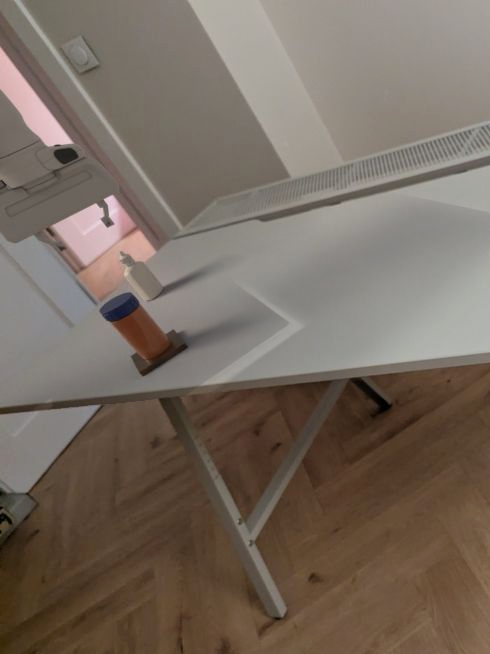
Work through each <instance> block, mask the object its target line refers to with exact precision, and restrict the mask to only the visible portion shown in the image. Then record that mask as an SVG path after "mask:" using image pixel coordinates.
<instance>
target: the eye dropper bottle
mask: <svg viewBox="0 0 490 654" xmlns="http://www.w3.org/2000/svg"><path fill="white" fill-rule="evenodd" d="M118 255H119V259H118V261H119V262H121V264H122V266H124V268H125V269H124V272H123V276H124V277H125V279H126V280H127V282H128V283H129V284H130V286H132V288H133V289H134V290H135V291H136V293H137V294H138V295H139V296H140V297H141V299H143V301H144V302H149V301H152V300H154V299H156V298H158V296H159V295H160V294H161V293H162V291H163V290H164V286H163V284H162V283H161V282H160V281H159V279H158V278H157V277H156V276H155V274H154V273H153V272H152V270H150V268H149V266H147V265H146V264H145V262H144V261H141V260H138V261H136V260H135V259H134V258H133V257H132V255H131V254H129V253H125V252H124V251H123V250H119V251H118Z"/></svg>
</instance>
